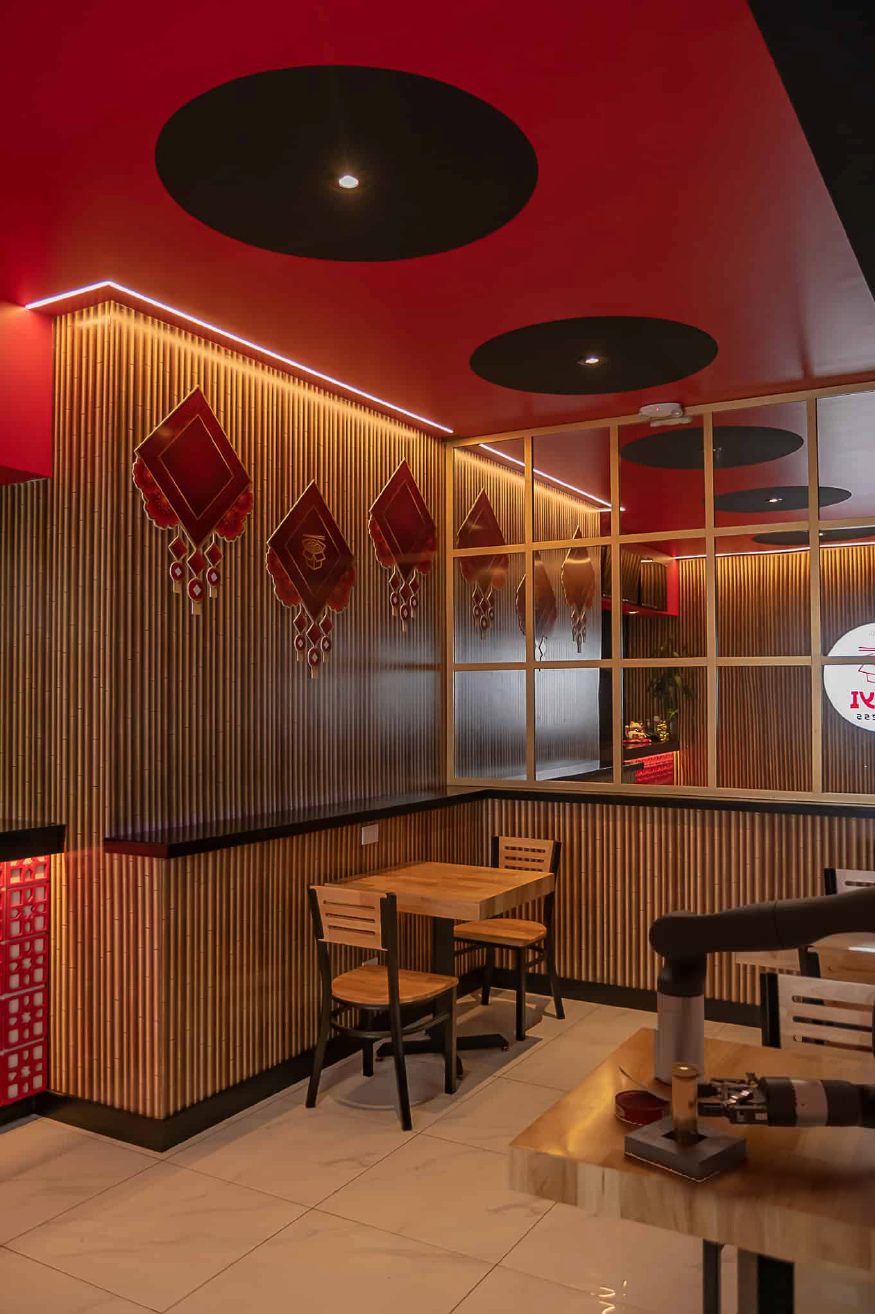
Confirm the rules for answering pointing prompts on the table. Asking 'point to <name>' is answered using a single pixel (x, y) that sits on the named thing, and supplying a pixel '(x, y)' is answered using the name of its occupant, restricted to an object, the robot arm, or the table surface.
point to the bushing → (684, 1102)
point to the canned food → (641, 1105)
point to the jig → (686, 1148)
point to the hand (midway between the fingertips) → (692, 1099)
